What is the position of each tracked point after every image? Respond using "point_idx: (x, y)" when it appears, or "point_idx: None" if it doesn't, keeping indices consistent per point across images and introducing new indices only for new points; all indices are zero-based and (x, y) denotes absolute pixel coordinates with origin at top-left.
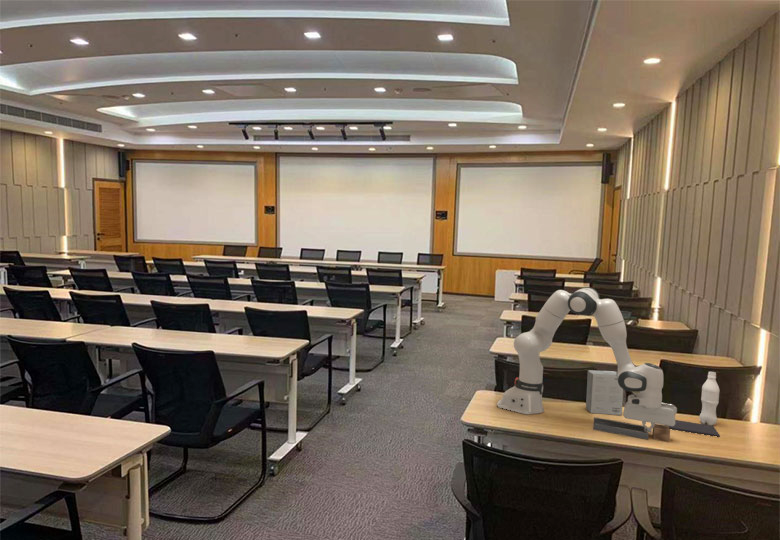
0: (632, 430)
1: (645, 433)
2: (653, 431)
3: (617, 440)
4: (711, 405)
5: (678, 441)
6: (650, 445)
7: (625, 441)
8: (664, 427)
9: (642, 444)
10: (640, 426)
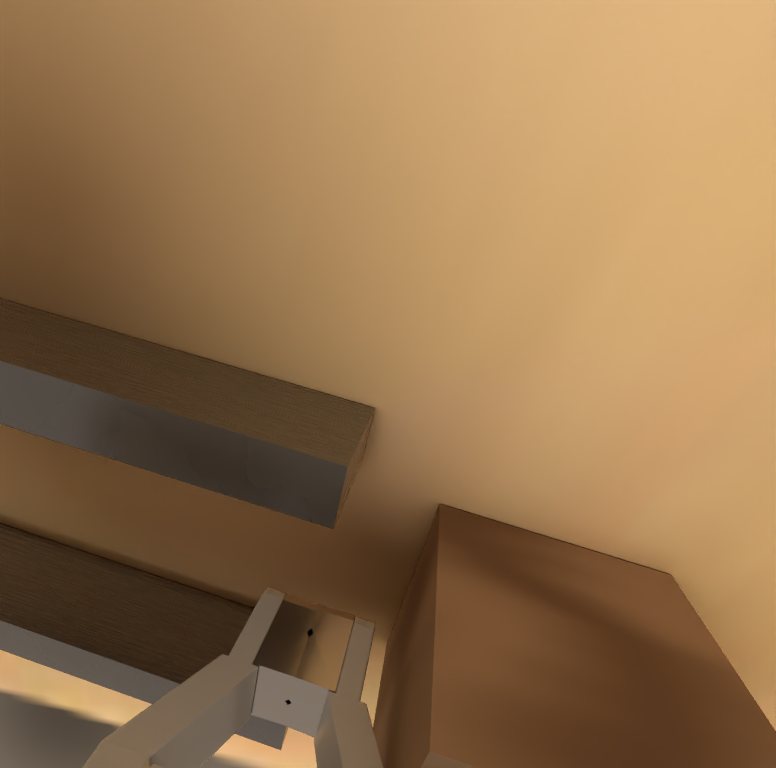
0: (80, 664)
1: (243, 736)
2: (392, 693)
3: (33, 676)
4: None
5: (750, 690)
6: (300, 755)
7: (94, 691)
8: None
9: (231, 738)
10: (210, 486)
